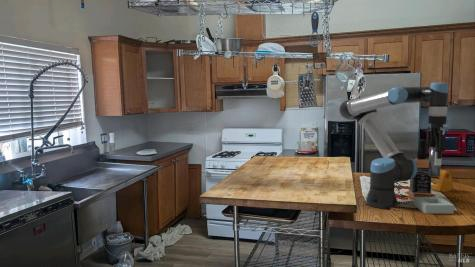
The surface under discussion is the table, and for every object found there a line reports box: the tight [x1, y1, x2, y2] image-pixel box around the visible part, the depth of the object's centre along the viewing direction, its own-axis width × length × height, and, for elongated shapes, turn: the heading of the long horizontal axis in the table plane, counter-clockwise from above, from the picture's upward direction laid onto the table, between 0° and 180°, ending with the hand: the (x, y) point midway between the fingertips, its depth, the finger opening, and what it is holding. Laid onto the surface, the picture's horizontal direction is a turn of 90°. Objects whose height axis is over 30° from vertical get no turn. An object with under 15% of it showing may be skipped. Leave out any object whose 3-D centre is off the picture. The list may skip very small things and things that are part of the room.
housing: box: [412, 196, 455, 215], centre depth 175 cm, size 13×13×5 cm
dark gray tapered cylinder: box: [428, 146, 442, 178], centre depth 172 cm, size 5×5×14 cm
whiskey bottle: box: [408, 139, 433, 199], centre depth 194 cm, size 10×10×32 cm
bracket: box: [431, 169, 454, 193], centre depth 210 cm, size 11×7×12 cm, turn 113°
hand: (434, 163), depth 172 cm, fingers closed on dark gray tapered cylinder, 5 cm apart
